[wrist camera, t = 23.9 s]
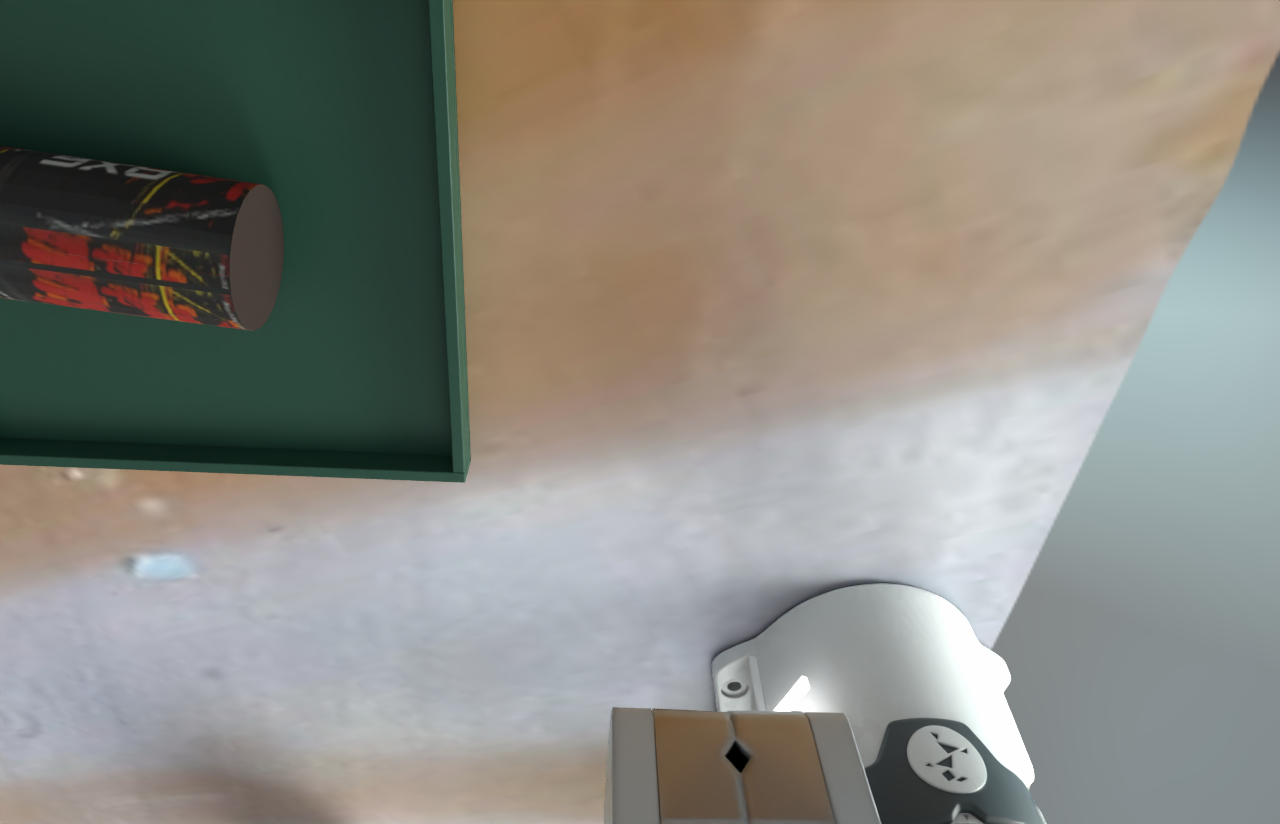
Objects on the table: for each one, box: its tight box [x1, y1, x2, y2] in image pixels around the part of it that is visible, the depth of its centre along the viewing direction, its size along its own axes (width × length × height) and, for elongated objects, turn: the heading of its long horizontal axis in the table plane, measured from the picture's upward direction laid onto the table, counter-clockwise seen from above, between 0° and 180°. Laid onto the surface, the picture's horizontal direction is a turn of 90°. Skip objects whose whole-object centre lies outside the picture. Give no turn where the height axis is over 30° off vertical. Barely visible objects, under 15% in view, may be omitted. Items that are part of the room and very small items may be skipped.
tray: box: [0, 0, 471, 482], centre depth 36 cm, size 23×24×2 cm
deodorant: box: [0, 146, 284, 331], centre depth 33 cm, size 6×6×15 cm
